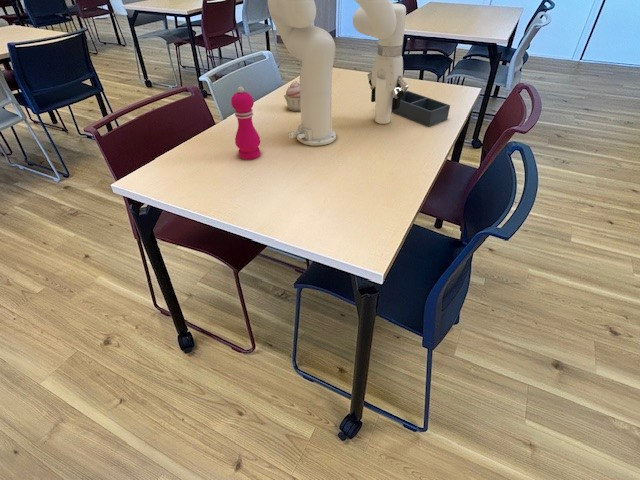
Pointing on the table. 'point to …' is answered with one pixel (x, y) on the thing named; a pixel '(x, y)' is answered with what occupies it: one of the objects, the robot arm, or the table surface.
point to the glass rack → (422, 109)
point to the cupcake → (293, 97)
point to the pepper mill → (245, 125)
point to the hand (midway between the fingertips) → (384, 105)
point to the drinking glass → (382, 102)
